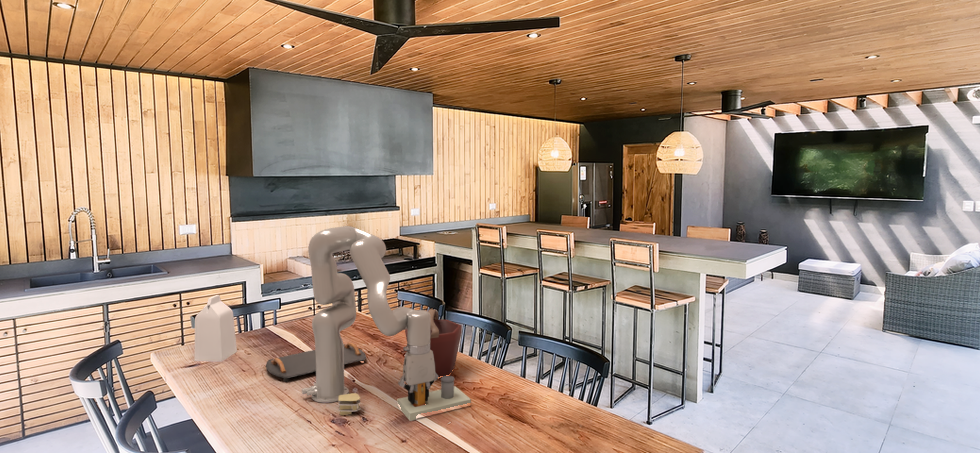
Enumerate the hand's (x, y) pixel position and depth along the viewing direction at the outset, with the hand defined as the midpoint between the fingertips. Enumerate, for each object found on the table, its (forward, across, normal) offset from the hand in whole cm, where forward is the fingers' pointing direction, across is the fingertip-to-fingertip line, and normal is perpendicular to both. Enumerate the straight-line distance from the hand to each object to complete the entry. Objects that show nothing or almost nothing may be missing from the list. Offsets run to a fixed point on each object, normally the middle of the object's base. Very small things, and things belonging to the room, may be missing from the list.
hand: (418, 400), depth 167 cm
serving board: (+4, -22, +57) cm, 61 cm away
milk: (+4, -57, +87) cm, 104 cm away
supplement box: (+2, 0, 0) cm, 2 cm away
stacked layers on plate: (+4, -21, +9) cm, 23 cm away
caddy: (+3, +6, 0) cm, 6 cm away
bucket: (+4, +17, +28) cm, 33 cm away
